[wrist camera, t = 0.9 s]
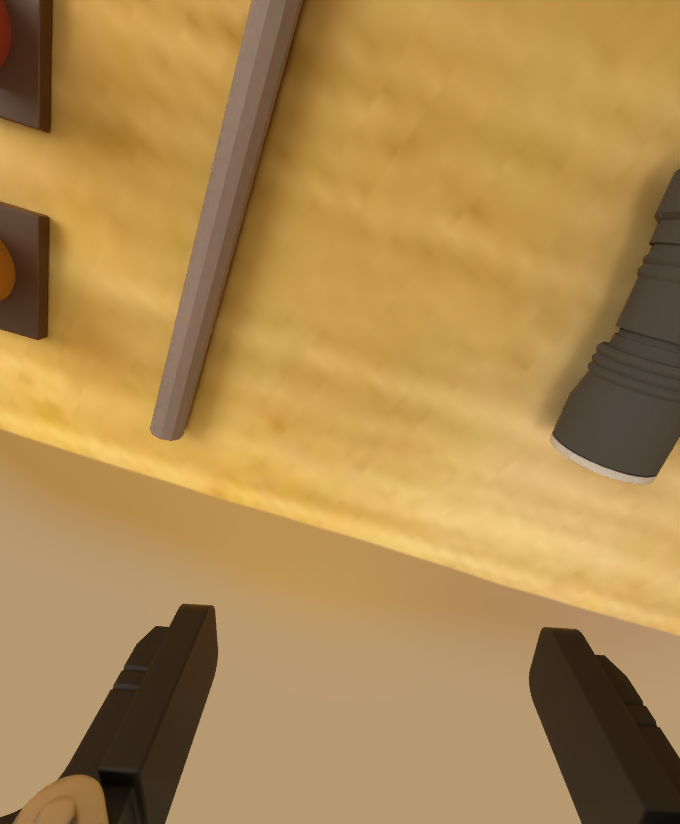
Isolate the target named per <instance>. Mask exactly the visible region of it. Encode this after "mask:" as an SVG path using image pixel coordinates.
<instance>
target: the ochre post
mask: <svg viewBox="0 0 680 824" xmlns="http://www.w3.org/2000/svg"><path fill="white" fill-rule="evenodd" d="M48 229H49V218H48V216H45V215H42V214H39V213H35V212H32V211H29V210H26V209H23V208H19V207H16V206H13V205H10V204H6V203H3V202H0V329H2V330H5V331H9V332H12V333H15V334H19V335H22V336H26V337H29V338H33V339H36V340H40V339H43V338H46V337H47V299H48Z"/></svg>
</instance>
